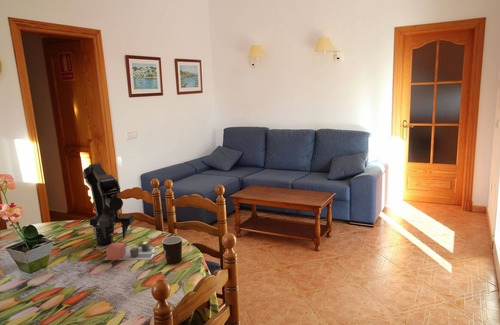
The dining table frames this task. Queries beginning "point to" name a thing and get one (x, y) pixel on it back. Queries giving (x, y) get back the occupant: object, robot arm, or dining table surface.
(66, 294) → the dining table surface
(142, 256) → the breaker panel
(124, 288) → the dining table surface
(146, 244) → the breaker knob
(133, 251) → the block
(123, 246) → the cap
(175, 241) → the coffee mug
